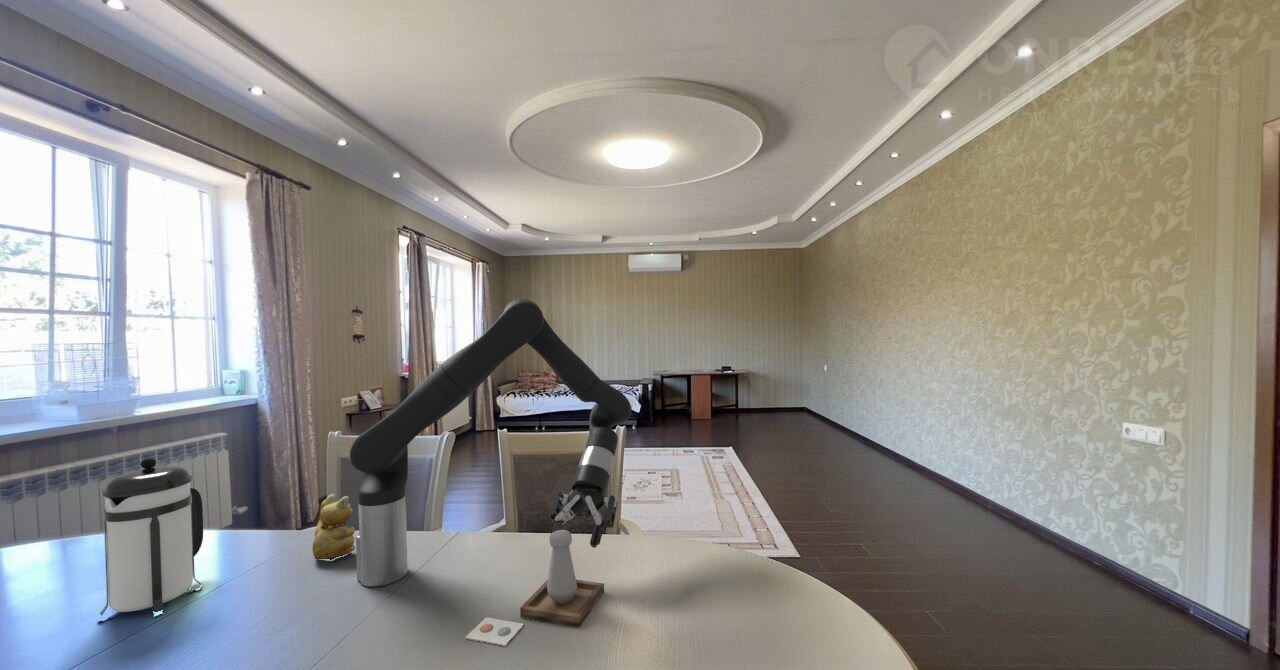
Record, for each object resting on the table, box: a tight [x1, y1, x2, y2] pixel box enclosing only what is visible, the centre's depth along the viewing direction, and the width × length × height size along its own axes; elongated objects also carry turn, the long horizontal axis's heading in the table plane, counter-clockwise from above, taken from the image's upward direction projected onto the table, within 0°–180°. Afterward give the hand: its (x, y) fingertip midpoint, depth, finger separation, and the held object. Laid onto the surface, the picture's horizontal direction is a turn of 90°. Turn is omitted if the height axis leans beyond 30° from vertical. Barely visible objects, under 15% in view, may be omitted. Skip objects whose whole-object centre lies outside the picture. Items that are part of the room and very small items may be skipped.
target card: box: [464, 617, 525, 647], centre depth 85 cm, size 8×6×1 cm
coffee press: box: [99, 457, 204, 616], centre depth 99 cm, size 17×16×30 cm
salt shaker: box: [547, 529, 577, 605], centre depth 93 cm, size 6×6×13 cm
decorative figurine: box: [312, 493, 356, 561], centre depth 116 cm, size 10×8×15 cm
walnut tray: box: [519, 579, 605, 628], centre depth 93 cm, size 12×12×2 cm
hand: (573, 543), depth 97 cm, fingers open, 8 cm apart
